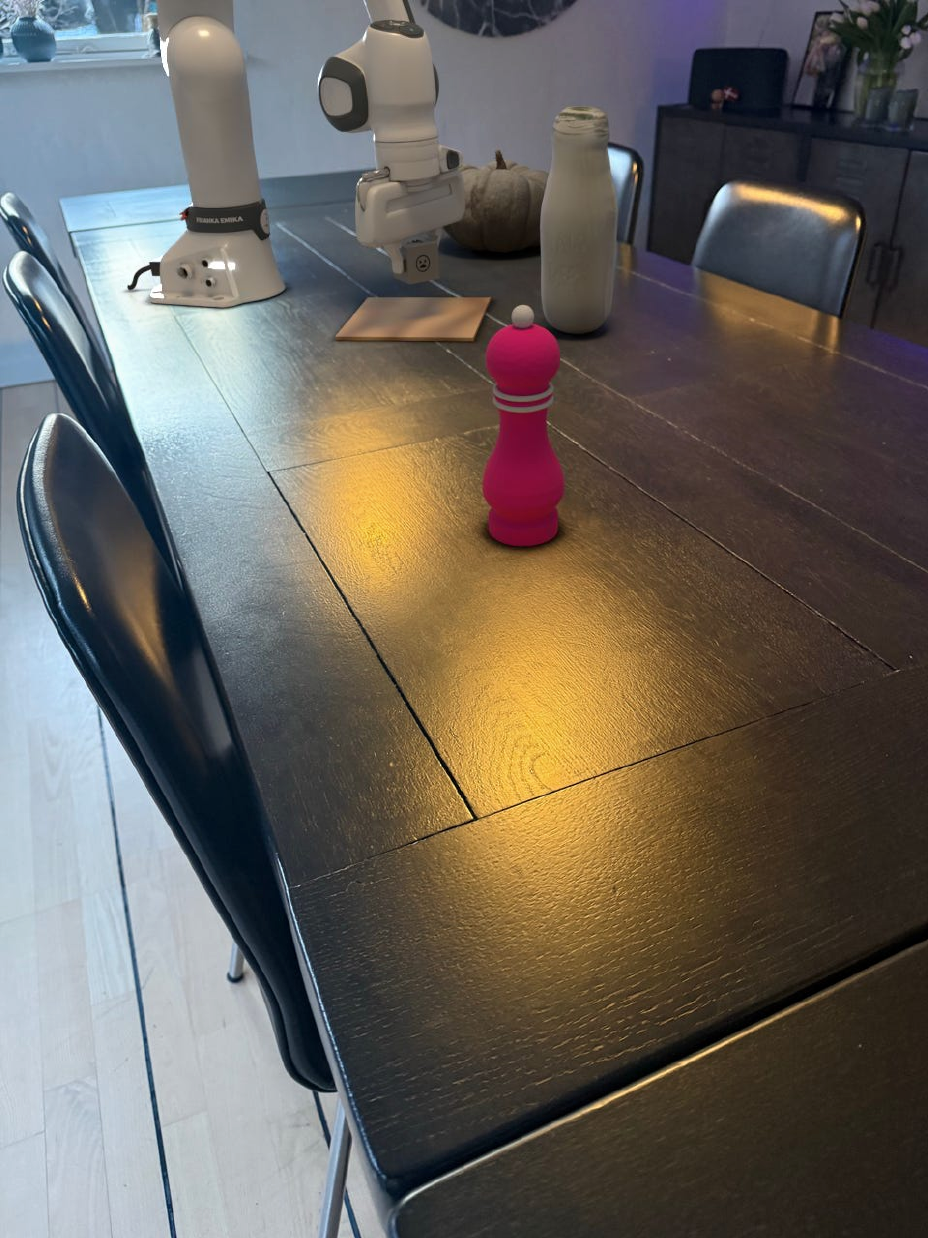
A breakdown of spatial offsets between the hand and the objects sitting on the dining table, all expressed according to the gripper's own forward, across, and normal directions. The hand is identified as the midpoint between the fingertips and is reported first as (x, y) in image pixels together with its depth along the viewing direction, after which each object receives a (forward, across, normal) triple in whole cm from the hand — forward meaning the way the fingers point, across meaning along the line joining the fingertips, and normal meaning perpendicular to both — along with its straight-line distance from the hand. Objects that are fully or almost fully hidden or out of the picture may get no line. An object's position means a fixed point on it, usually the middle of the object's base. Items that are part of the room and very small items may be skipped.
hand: (415, 266), depth 131 cm
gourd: (+8, +44, +17) cm, 48 cm away
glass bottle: (+8, +7, -23) cm, 25 cm away
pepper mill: (+8, -45, -50) cm, 67 cm away
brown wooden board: (+8, 0, 0) cm, 8 cm away
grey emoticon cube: (+2, 0, 0) cm, 2 cm away
